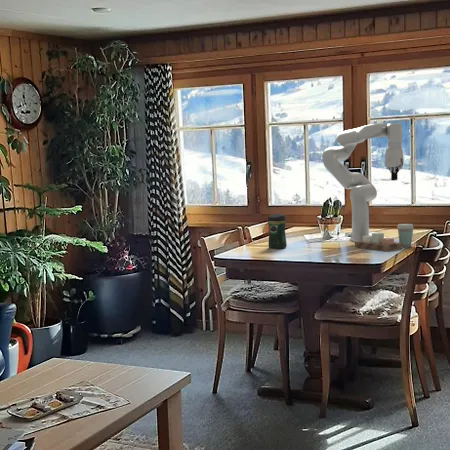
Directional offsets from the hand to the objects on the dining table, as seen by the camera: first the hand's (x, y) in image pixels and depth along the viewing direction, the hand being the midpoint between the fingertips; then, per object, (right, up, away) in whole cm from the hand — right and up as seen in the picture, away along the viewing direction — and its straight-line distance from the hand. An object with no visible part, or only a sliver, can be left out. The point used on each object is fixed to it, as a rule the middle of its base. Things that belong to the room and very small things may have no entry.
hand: (394, 180), depth 365 cm
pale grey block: (-15, -35, -3) cm, 38 cm away
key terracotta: (-7, -37, -14) cm, 40 cm away
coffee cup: (+4, -36, -8) cm, 37 cm away
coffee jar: (-63, -37, +2) cm, 74 cm away
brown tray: (-11, -37, -9) cm, 39 cm away
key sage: (-11, -34, -9) cm, 37 cm away
